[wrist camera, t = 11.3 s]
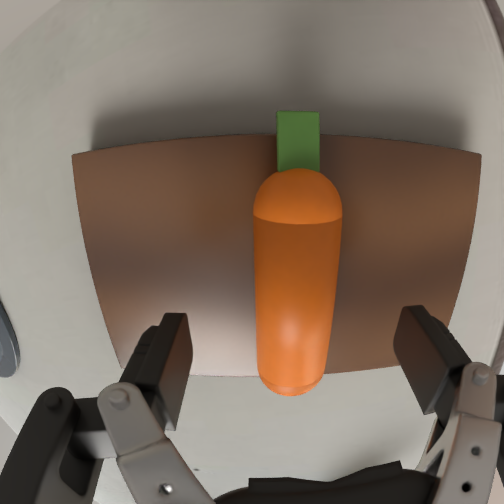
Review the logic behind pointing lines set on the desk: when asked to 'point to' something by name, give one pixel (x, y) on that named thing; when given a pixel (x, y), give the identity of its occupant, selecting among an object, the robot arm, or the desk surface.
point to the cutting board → (242, 240)
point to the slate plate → (7, 347)
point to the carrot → (295, 259)
